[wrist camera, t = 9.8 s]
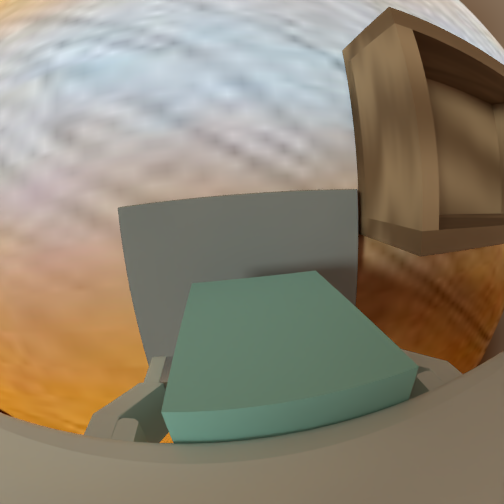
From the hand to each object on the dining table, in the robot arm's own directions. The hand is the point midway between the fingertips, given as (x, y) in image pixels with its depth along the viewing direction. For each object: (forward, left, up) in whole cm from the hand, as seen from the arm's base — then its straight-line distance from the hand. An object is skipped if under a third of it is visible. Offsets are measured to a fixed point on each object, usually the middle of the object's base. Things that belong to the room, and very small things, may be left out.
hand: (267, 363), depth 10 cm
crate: (+9, -14, -6) cm, 17 cm away
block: (0, 0, -2) cm, 2 cm away
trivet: (0, 0, -6) cm, 6 cm away
